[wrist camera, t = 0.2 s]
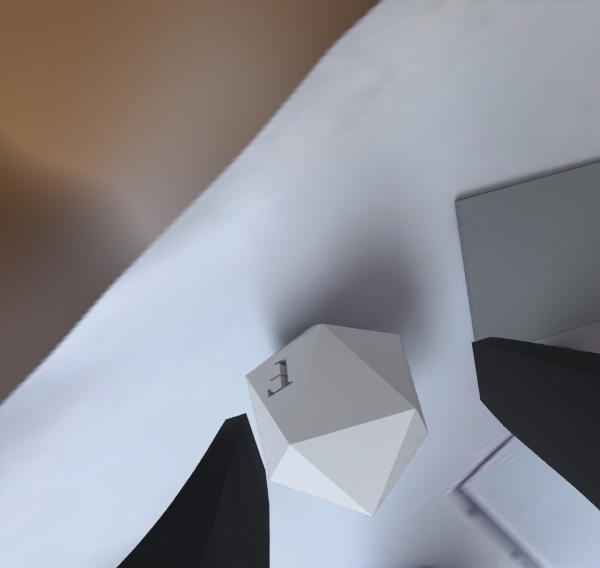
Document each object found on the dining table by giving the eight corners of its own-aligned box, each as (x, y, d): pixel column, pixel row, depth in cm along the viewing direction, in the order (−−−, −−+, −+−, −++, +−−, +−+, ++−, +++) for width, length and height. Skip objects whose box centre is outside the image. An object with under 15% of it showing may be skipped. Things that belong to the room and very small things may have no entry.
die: (380, 286, 21) (312, 289, 12) (468, 416, 19) (460, 529, 10) (285, 351, 24) (178, 389, 15) (350, 469, 22) (268, 589, 13)
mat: (639, 303, 23) (646, 305, 23) (476, 354, 22) (480, 357, 22) (637, 150, 21) (644, 149, 20) (454, 201, 20) (458, 200, 19)
